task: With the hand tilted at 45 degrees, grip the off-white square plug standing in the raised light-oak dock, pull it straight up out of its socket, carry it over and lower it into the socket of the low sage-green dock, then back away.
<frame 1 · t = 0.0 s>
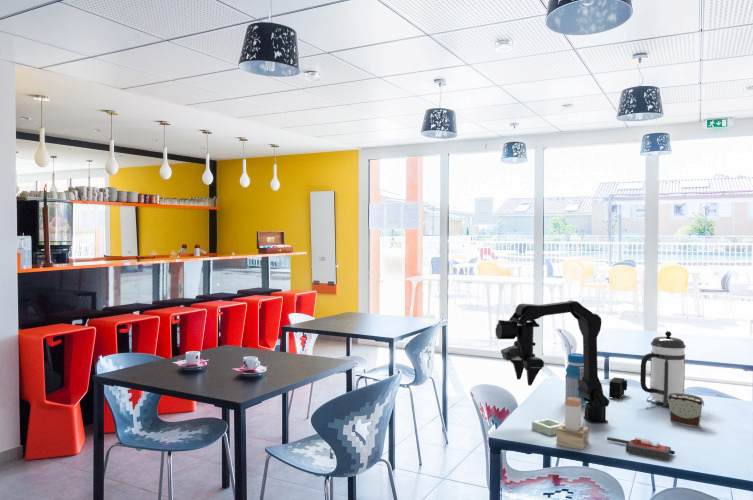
hand: (524, 382, 205), 15 cm above the table, tool pointing down, fingers open, 9 cm apart
coffee press: (664, 404, 235), on the table
digital camera: (618, 396, 246), on the table
plug: (572, 432, 184), point 3 cm above the table, touching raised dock
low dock: (548, 430, 197), on the table
walkie-talkie: (638, 452, 179), on the table
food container: (686, 423, 210), on the table
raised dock: (572, 443, 184), on the table
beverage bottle: (575, 403, 233), on the table
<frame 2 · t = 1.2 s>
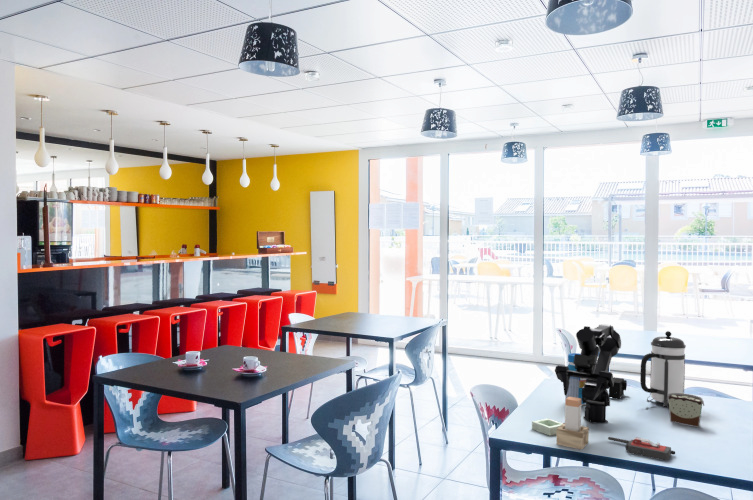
hand: (578, 397, 191), 13 cm above the table, tool tilted 45°, fingers open, 9 cm apart
nothing on the table moved.
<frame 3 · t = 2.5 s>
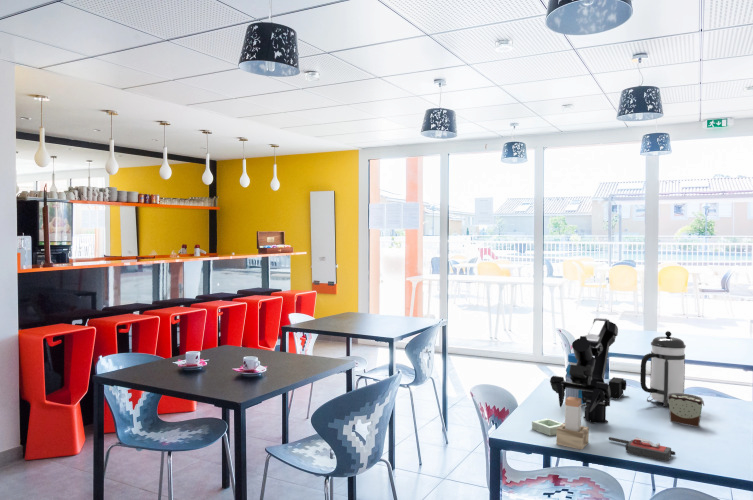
hand: (574, 408, 185), 11 cm above the table, tool tilted 45°, fingers open, 9 cm apart
nothing on the table moved.
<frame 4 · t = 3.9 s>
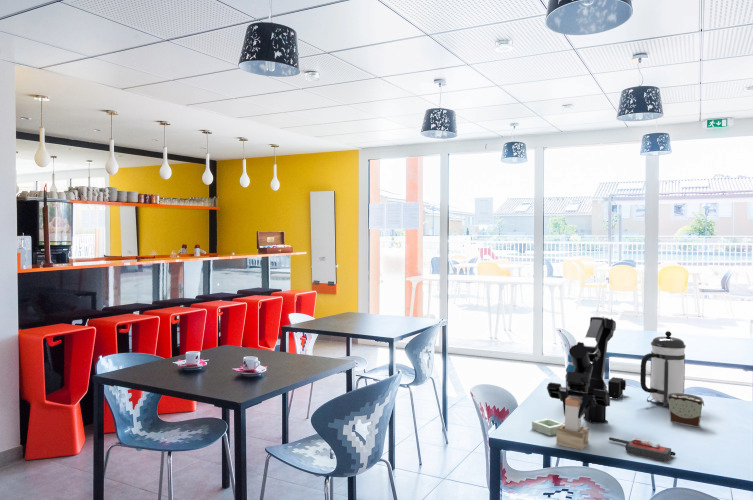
hand: (571, 416, 183), 9 cm above the table, tool tilted 45°, fingers closed on plug, 4 cm apart
plug: (572, 432, 184), point 4 cm above the table, touching gripper, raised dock
everything else where it was.
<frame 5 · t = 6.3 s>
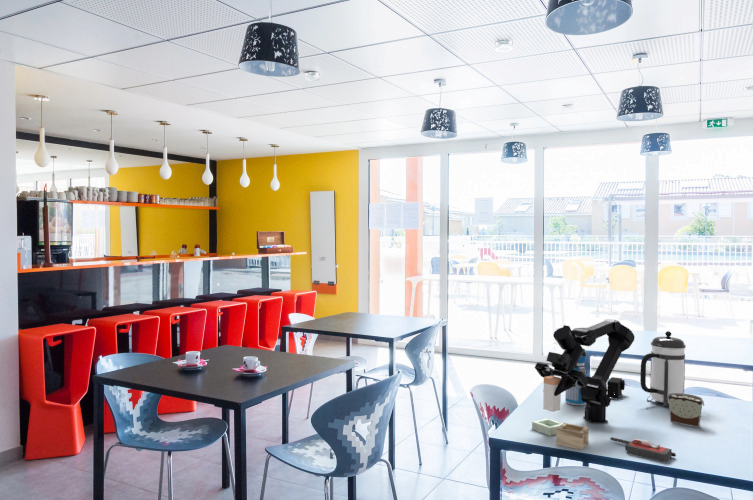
hand: (549, 393, 194), 13 cm above the table, tool tilted 45°, fingers closed on plug, 4 cm apart
plug: (551, 409, 195), point 8 cm above the table, touching gripper
when the fingers open (7 cm above the table, at t = 8.3 s): plug stays where it is, resting on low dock.
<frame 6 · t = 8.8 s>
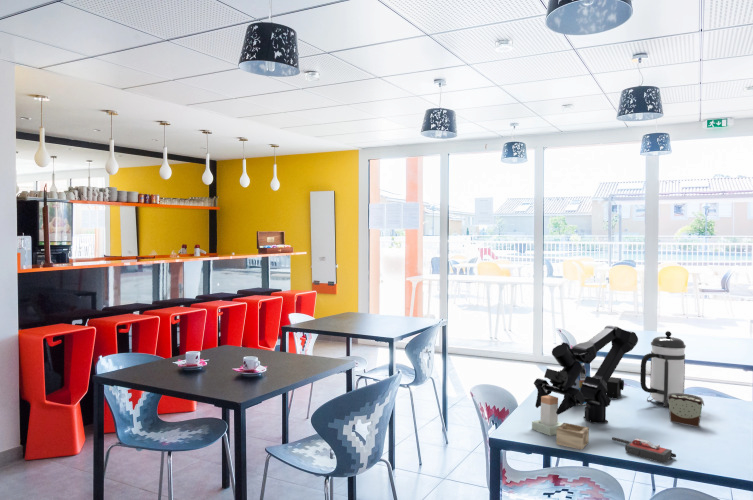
hand: (546, 410, 196), 7 cm above the table, tool tilted 45°, fingers open, 9 cm apart
plug: (548, 428, 197), point 1 cm above the table, touching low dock
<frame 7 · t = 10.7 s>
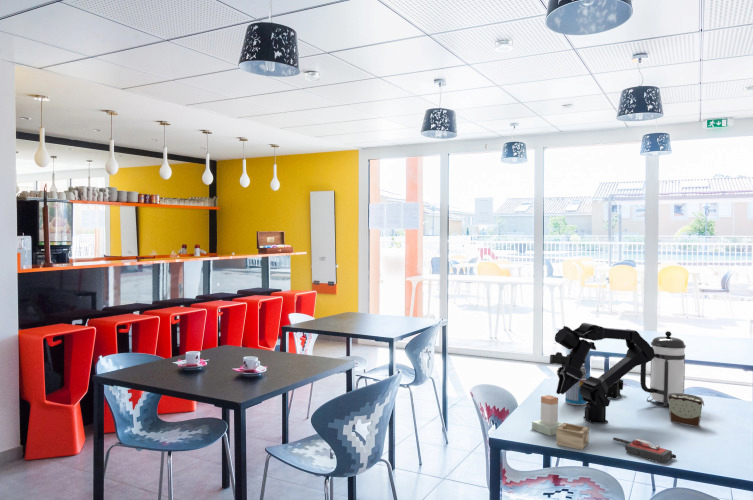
hand: (559, 393, 205), 11 cm above the table, tool tilted 30°, fingers open, 9 cm apart
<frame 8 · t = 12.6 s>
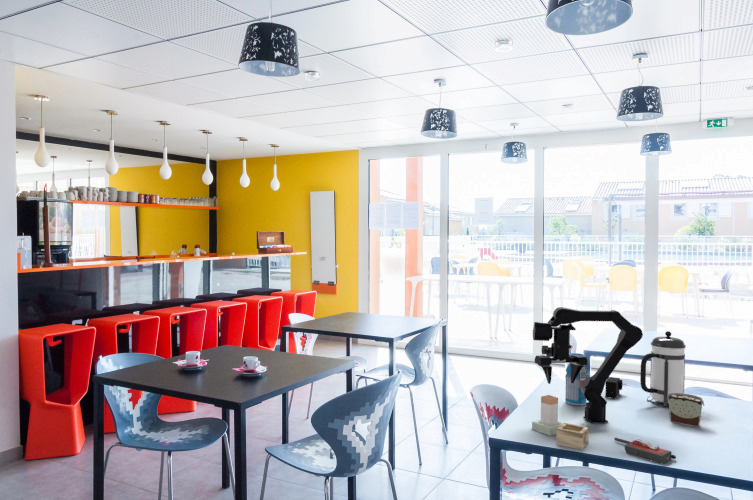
hand: (560, 383, 212), 13 cm above the table, tool pointing down, fingers open, 9 cm apart
at the end: plug 0.0 cm off-centre on the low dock, point 0.6 cm above the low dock's base; plug tilted 0°; the gripper is holding nothing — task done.
